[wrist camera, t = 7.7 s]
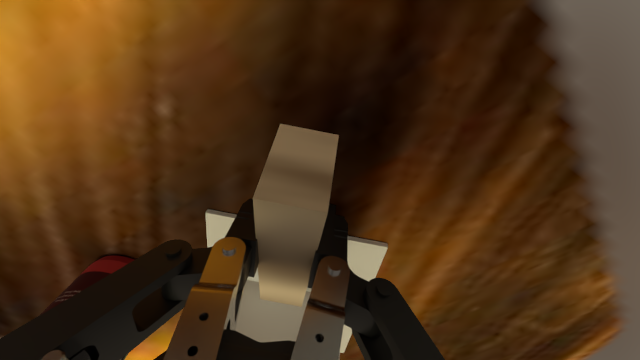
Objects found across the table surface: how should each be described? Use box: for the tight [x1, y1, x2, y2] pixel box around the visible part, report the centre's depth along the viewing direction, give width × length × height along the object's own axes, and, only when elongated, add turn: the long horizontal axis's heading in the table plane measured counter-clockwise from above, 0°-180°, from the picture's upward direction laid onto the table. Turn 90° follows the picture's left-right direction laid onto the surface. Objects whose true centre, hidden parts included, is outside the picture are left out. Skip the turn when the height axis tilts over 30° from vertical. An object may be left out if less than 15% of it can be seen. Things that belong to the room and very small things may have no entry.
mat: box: [206, 209, 388, 353], centre depth 30 cm, size 18×16×1 cm
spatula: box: [247, 124, 339, 307], centre depth 17 cm, size 17×7×4 cm, turn 170°
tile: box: [235, 280, 340, 360], centre depth 24 cm, size 2×10×9 cm, turn 80°
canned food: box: [39, 255, 134, 360], centre depth 26 cm, size 8×8×11 cm
